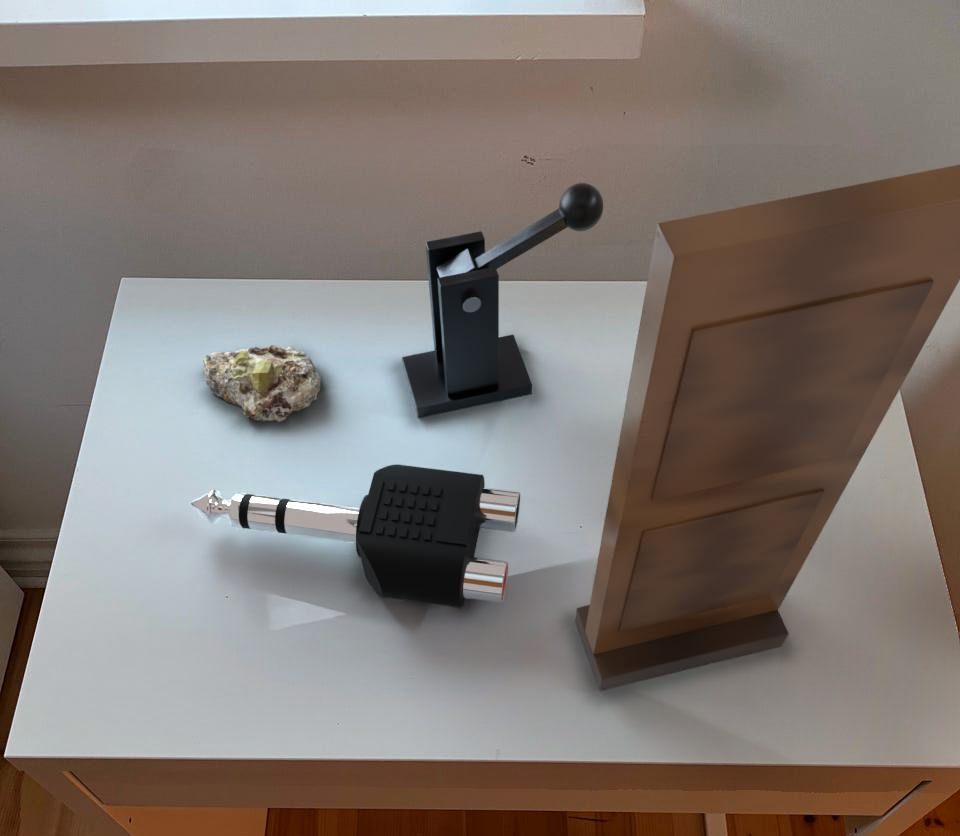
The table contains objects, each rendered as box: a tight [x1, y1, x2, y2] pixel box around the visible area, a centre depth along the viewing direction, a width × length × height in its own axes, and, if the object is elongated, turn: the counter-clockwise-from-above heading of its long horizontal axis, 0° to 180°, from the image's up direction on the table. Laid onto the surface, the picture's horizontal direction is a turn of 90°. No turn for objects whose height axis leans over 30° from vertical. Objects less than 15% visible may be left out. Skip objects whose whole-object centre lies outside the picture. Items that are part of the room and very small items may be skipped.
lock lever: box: [436, 182, 604, 277], centre depth 69 cm, size 13×3×3 cm, turn 105°
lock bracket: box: [401, 230, 533, 419], centre depth 74 cm, size 10×6×13 cm, turn 104°
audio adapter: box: [189, 464, 521, 609], centre depth 70 cm, size 11×5×25 cm
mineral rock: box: [202, 344, 322, 423], centre depth 79 cm, size 11×4×8 cm
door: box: [574, 163, 960, 692], centre depth 52 cm, size 14×6×36 cm, turn 104°
